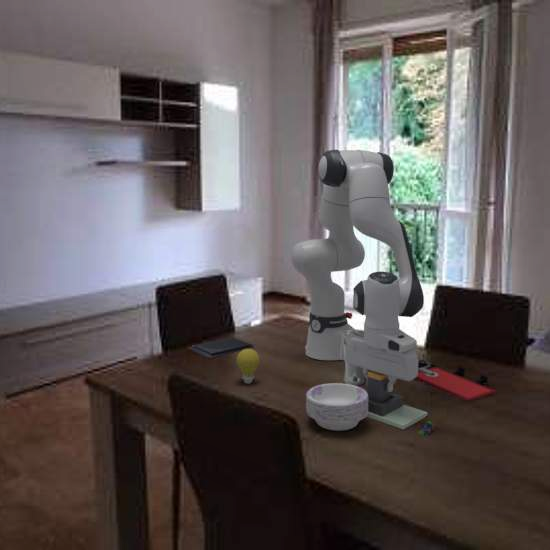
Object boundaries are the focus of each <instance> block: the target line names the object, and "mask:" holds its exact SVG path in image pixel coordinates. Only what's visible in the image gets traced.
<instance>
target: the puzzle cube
mask: <svg viewBox="0 0 550 550" xmlns="http://www.w3.org/2000/svg"><path fill="white" fill-rule="evenodd" d="M434 424H435V423H433V422H432V421H429V420H428V421H426V423H424V426H422V427H421V429H419V430H418V431H417V432H416V434H418V435H423V436H424V435H427V436H429V435H430V434H432V432H433V431H434V429H435V425H434Z"/></svg>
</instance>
